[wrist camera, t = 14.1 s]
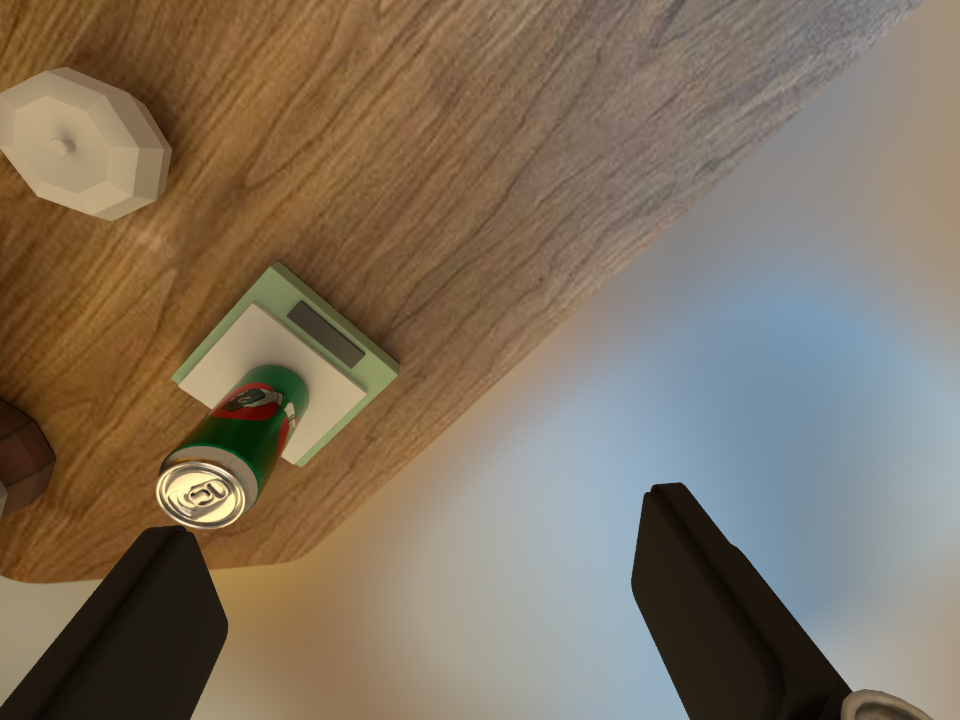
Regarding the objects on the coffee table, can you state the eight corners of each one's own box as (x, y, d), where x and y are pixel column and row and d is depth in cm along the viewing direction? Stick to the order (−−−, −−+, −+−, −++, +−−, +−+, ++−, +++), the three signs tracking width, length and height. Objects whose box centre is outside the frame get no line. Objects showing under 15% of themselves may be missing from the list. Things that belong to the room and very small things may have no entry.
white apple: (158, 240, 31) (92, 255, 25) (42, 152, 28) (-63, 145, 22) (224, 152, 30) (170, 146, 23) (108, 50, 27) (14, 14, 21)
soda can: (227, 380, 33) (122, 483, 22) (284, 350, 32) (207, 439, 21) (269, 431, 35) (193, 549, 24) (324, 403, 34) (272, 510, 23)
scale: (278, 260, 32) (266, 267, 30) (400, 364, 37) (398, 378, 34) (183, 367, 35) (164, 381, 32) (307, 454, 39) (299, 472, 37)
